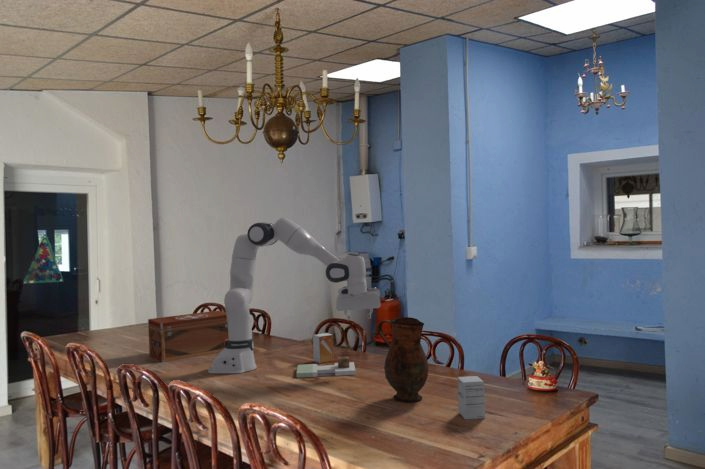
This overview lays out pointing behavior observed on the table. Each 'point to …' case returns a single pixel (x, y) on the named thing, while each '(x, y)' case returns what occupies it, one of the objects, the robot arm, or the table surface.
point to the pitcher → (405, 358)
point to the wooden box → (187, 335)
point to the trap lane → (324, 370)
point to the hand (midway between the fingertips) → (359, 319)
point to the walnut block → (343, 362)
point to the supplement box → (471, 397)
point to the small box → (323, 347)
